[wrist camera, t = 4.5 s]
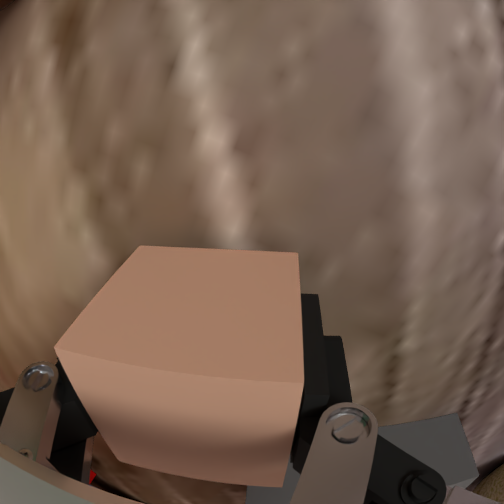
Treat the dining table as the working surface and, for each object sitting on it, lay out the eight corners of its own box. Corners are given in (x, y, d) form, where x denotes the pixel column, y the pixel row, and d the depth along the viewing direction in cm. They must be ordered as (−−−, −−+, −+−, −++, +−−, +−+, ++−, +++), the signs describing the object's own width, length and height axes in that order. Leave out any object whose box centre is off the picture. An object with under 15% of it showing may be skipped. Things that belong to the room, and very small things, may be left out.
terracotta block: (297, 252, 10) (303, 382, 5) (287, 369, 12) (282, 487, 7) (139, 245, 10) (53, 347, 5) (162, 358, 12) (118, 461, 8)
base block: (455, 408, 14) (479, 475, 10) (401, 486, 19) (408, 533, 15) (253, 427, 16) (244, 508, 11) (262, 497, 21) (257, 547, 16)
